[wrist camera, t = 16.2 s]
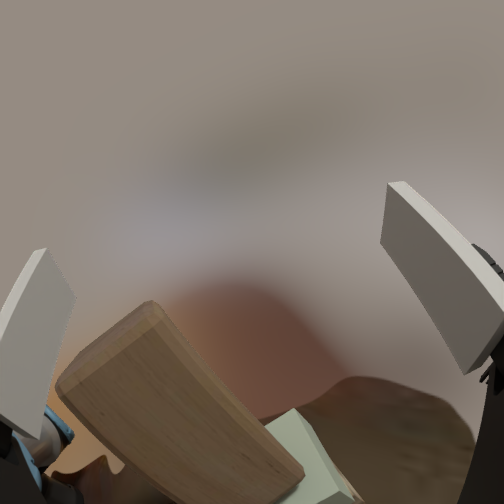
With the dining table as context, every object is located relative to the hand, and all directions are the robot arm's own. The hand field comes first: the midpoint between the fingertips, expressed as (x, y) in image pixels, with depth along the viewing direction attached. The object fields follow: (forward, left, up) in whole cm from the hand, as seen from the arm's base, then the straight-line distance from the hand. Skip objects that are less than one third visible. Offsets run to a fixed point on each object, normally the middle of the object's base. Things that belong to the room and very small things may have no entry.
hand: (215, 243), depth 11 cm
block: (-9, -11, -23) cm, 27 cm away
